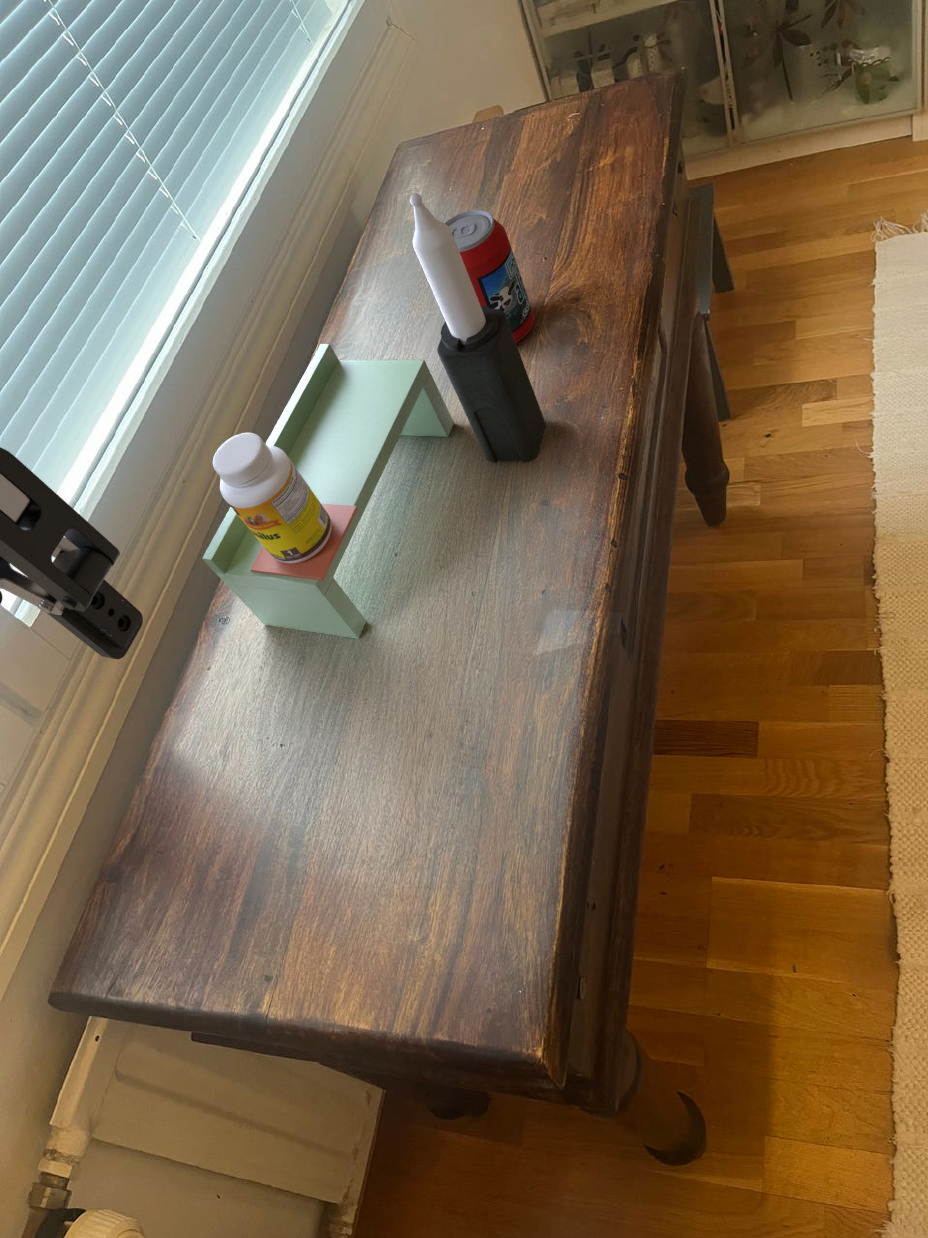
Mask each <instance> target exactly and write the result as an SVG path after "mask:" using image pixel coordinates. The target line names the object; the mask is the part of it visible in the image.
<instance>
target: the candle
mask: <svg viewBox="0 0 928 1238" xmlns="http://www.w3.org/2000/svg"><path fill="white" fill-rule="evenodd" d="M409 203H410V204H411V205H412V206H413V215H414V226H415V229H414V234H413V238H412V247H413V250H414V252H415V254H416V256H417V259H418V261H419V263H420V266H421V268H422V270H423V272H424V275H425V278H426V279H427V282H428V284H429V286H430V288H431V291H432V293H433V296H434V298H435V300H436V302H437V304H438V307H439V309H440V311H441V314H442V316H443V318H444V320H445V321H444V322H443V324H442V326H441V329H440V340H439V342H438V345H437V349H436V351H437V352H436V353H437V355H438V357H439V360H440V362H441V363H442V365H443V369H444V371H445V372H446V374H447V376H448V379H449V381H450V383H451V385H452V388H453V389H454V392H455V394H456V396H457V398H458V400H459V402H460V405H461V407H462V409H463V411H464V413H465V416H466V418H467V420H468V422H469V425H470V427H471V428H472V430H473V432H474V435H475V437H476V439H477V441H478V444H479V446H480V448H481V449H482V452H483V455H484V456H485V459H486V460H487V461H488V462H489V463H492V464H497V463H498V462H522V463H528V462H531V461H533V460H534V459H535V458H537V456H538V455H539V453H540V450H541V448H542V444H543V440H544V438H545V437H544V436H545V433H546V429H547V424H546V420H545V419H544V415H543V412H542V410H541V408H540V404H539V402H538V399H537V397H536V394H535V391H534V388H533V386H532V385H533V384H532V383H531V380H530V378H529V375H528V372H527V369H526V367H525V364H524V361H523V358H522V356H521V353H520V350H519V348H518V345H517V343H516V342H515V339H514V337H513V334H512V331H511V329H510V326H509V323H508V321H507V318H506V315H505V313H504V312H503V311H502V310H500V309H491V308H489V307H487V306H483V305H480V303H479V301H478V298H477V296H476V293H475V291H474V288H473V286H472V283H471V281H470V278H469V275H468V273H467V270H466V268H465V265H464V263H463V260H462V258H461V255H460V253H459V250H458V247H457V245H456V242H455V240H454V237H453V235H452V232H451V230H450V228H449V227H448V226H447V225H446V224H444V223H445V222H443V221H441V220H439V219H437V218H436V217H435V215H433V214H432V212H431V211H430V210H429V208H427V206H426V205H425V204H424V203H423V197H422V196H421V194H419V193H415V192H414V193H412V194H411V195H410V197H409Z"/></svg>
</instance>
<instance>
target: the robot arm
mask: <svg viewBox="0 0 928 1238" xmlns="http://www.w3.org/2000/svg"><path fill="white" fill-rule="evenodd" d="M120 555H121V552H120V550H119V549H118V548H117V547H116V546H115V544H113V543H112V542H111V541H110V540H109V539H107V538H106V537H105V536H104V535H103V534H102V533H101V532H100V531H99V530H97V528H95V527H94V526H93V525H92V524H91V523H90V522H89V521H87V520H86V519H85V518H84V516H82V515H81V514H80V513H78V511H76V510H75V509H74V508H73V507H72V506H71V505H70V504H68V502H66V501H65V500H64V498H62V497H61V496H59V494H58V493H56V492H55V491H54V490H53V489H52V488H51V487H50V486H49V485H48V484H46V483H45V482H44V481H43V480H42V479H41V478H40V477H39V476H37V475H36V474H35V473H34V472H33V471H32V470H31V469H30V468H28V467H27V466H26V465H25V464H24V463H23V462H22V461H21V460H20V459H19V458H17V457H16V456H15V455H14V454H12V453H11V452H10V451H8V450H7V449H5V448H3V447H1V446H0V589H2V590H4V591H6V592H9V594H11V595H14V596H16V597H18V598H20V599H22V600H24V601H25V602H28V603H29V604H32V605H33V606H35V607H37V609H39V610H40V611H42V612H44V613H46V614H47V615H48V616H50V618H52V619H54V620H55V621H56V622H58V623H59V624H60V625H61V626H62V627H64V628H65V629H66V630H67V631H69V632H70V633H71V634H72V635H74V636H75V637H76V638H77V639H79V640H80V641H81V642H83V643H84V644H85V645H87V646H88V647H89V648H90V649H91V650H93V651H94V652H95V653H96V654H98V655H99V656H100V657H102V658H108V659H112V660H113V659H114V660H121V659H123V658H124V657H125V656H126V655H127V653H128V651H129V649H130V648H131V646H132V644H133V642H134V641H135V639H136V637H137V635H138V633H139V632H140V630H141V628H142V626H143V622H144V617H143V614H142V612H141V610H139V609H138V608H137V607H136V606H134V605H133V604H132V602H130V601H129V600H128V599H127V598H126V597H125V596H123V595H122V593H120V592H119V591H118V590H117V589H116V588H115V587H114V586H112V585H111V584H110V583H109V582H108V581H107V580H106V579H105V578H106V577H107V575H108V574H109V571H110V570H111V569H112V567H113V566H114V565H115V563H116V562H117V560H118V558H119V557H120ZM53 558H54V560H53ZM12 566H13V567H14V568H15V569H17V570H18V571H17V570H15V569H14V568H12ZM2 602H3V593H2V591H1V590H0V605H1V604H2Z"/></svg>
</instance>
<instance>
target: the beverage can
mask: <svg viewBox="0 0 928 1238" xmlns="http://www.w3.org/2000/svg"><path fill="white" fill-rule="evenodd" d="M443 223H444V224H446V225H447V226H448V227H449V228H450V230H451V232H452V235H453V237H454V240H455V242H456V245H457V247H458V250H459V253H460V255H461V258H462V260H463V263H464V265H465V268H466V270H467V273H468V275H469V278H470V281H471V283H472V286H473V288H474V291H475V293H476V296H477V298H478V301H479V303H480V305H483V306H487V307H489V308H491V309H500V310H502V311H503V312H504V313H505V315H506V318H507V321H508V323H509V326H510V329H511V331H512V334H513V337H514V339H515V342H516V344H517V343H519V341H521V340H522V339H524V337H526V335H528V333H529V332H530V331H531V330H532V327H533V325H534V321H535V318H534V317H535V315H534V312H533V309H532V306H531V305H532V304H531V303H530V299H529V296H528V293H527V290H526V287H525V283H524V281H523V277H522V275H521V271H520V269H519V265H518V263H517V260H516V257H515V254H514V252H513V248H512V244H511V242H510V240H509V237H508V234H507V231H506V229H505V227H504V226H503V225H502V223H500V222H499V221H498V220H496V219H495V218H494V217H493V215H492V214H491V213H490V212H489V211H487V210H484V209H476V208H475V209H469V210H465V211H462V212H460V213H457V214H455V215H454V216H452V217H450V218H449V219H448V220H446V221H445V222H443Z"/></svg>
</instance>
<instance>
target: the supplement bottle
mask: <svg viewBox="0 0 928 1238" xmlns="http://www.w3.org/2000/svg"><path fill="white" fill-rule="evenodd" d="M212 466H213V469H214V471H215V472H216V473H217V474H218V476H219V478H220V480H219V490H220V494H221V496H222V498H223V499H224V500H225V502H226V503H227V504H228V505H229V507H231V508H232V509H233V510H234V511H235V512H236V514H237V515H238V516H239V517H240V518H241V520H242V521H243V522H244V523H245V524H246V526H247V527H248V528H249V529H250V530H251V532H252V533H253V534H254V535H255V536H256V538H257V539H258V540H259V541H260V542H261V543H262V545H263V546H264V547H265V548H266V549H267V551H268V552H269V553H270V554H271V555H272V556H273V557H274V558H275V559H277V560H278V561H281V562H284V563H298V562H302V561H305V560H307V559H309V558H311V557H313V556H314V555H316V554H317V553H318V552H319V551H320V550H321V549H322V548H323V547H324V546H325V544H326V543H327V541H328V539H329V537H330V534H331V529H332V524H331V519H330V516H329V515H328V513H327V511H326V510H325V509H324V507H323V506H322V504H321V503H320V501H319V500H318V498H317V497H316V496H315V494H314V493H313V491H312V490H311V488H310V487H309V486H308V484H307V483H306V481H305V480H304V479H303V477H302V476H301V474H300V473H299V472H298V470H297V469H296V467H295V466H294V464H293V463H292V462H291V460H290V459H289V457H288V456H287V455H286V454H285V453H284V451H282V450H281V449H280V448H278V447H275V446H271V445H266V442H264V440H263V439H262V438H261V437H260V436H259V434H256V433H253V432H241V433H238V434H236V435H234V436H231V437H229V438H228V439H227V440H225V441H224V442H223V443H222V444H221V445H220V446H219V447H218V448H217V450H216V451H215V454H214V455H213V459H212Z"/></svg>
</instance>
